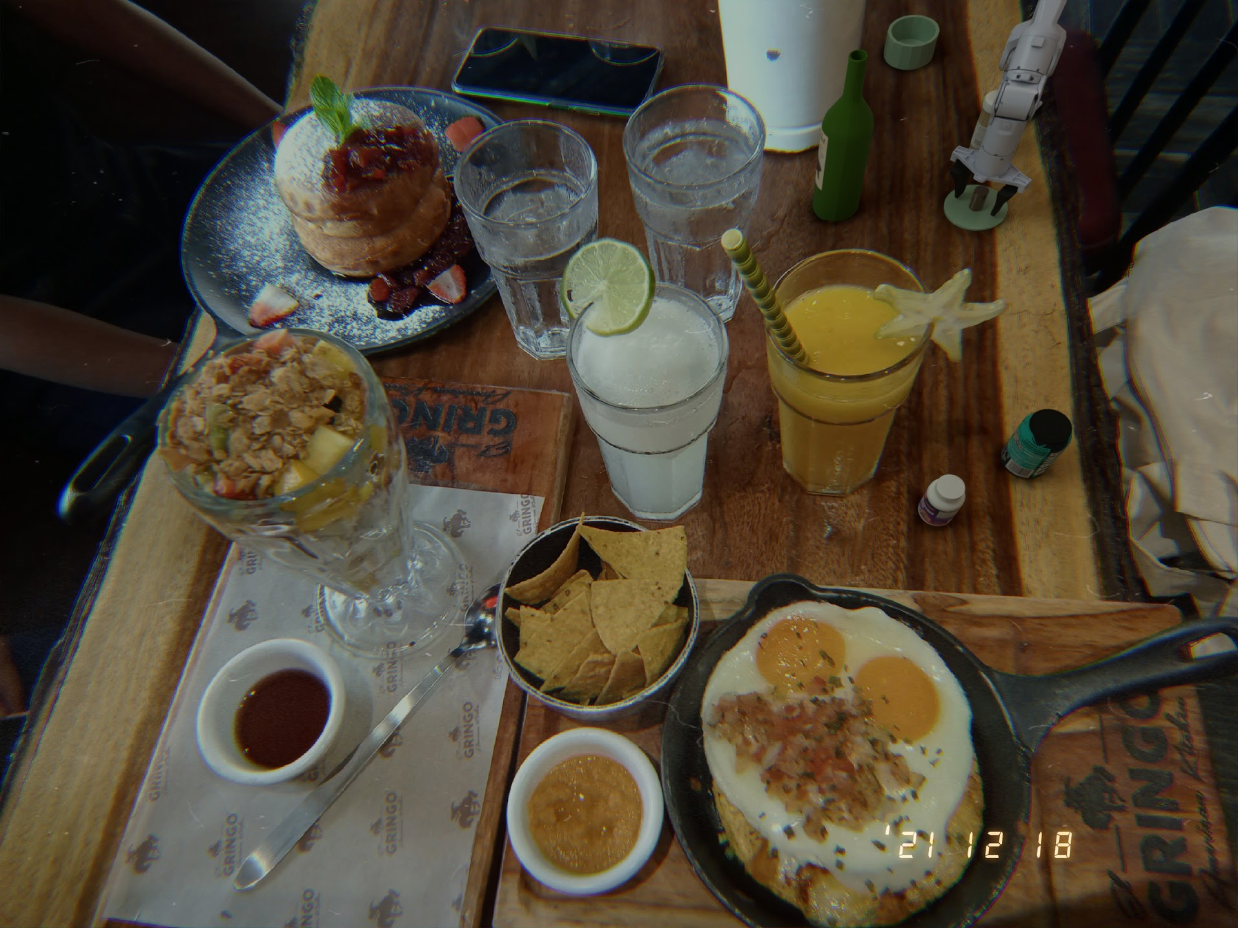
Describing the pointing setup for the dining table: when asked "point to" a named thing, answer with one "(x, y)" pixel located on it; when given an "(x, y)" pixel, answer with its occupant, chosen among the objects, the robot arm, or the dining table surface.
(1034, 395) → the dining table surface
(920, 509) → the pill bottle
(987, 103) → the sprinkles bottle
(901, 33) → the canister
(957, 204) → the canister lid
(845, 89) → the wine bottle
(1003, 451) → the teal spice jar
